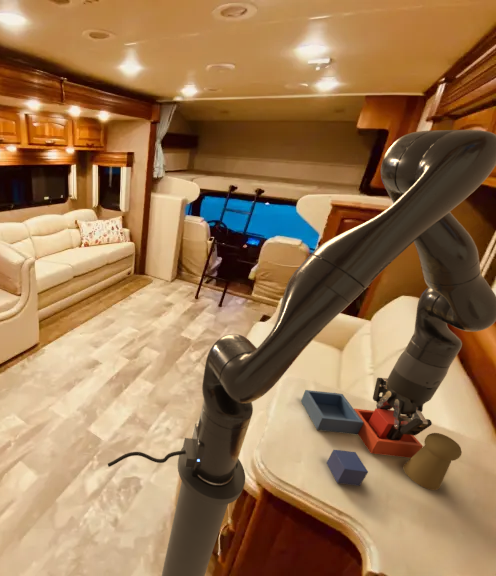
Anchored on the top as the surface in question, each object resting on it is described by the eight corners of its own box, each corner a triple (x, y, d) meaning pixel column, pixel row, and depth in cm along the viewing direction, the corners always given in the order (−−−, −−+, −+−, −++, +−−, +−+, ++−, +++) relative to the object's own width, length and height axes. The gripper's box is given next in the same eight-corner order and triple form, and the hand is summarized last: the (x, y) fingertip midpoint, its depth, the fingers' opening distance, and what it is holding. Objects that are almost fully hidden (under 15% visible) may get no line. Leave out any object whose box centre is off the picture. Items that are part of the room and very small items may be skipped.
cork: (396, 460, 71) (419, 425, 66) (427, 465, 70) (453, 431, 65) (414, 486, 66) (440, 450, 61) (447, 493, 65) (476, 457, 60)
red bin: (370, 453, 72) (377, 440, 71) (347, 420, 81) (353, 408, 79) (414, 458, 72) (423, 446, 70) (387, 424, 80) (394, 412, 78)
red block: (379, 437, 73) (388, 423, 71) (368, 421, 77) (375, 408, 75) (400, 439, 73) (409, 426, 71) (387, 423, 77) (395, 410, 75)
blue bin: (316, 430, 78) (322, 418, 76) (300, 401, 86) (305, 389, 84) (357, 434, 77) (363, 422, 75) (337, 405, 85) (342, 393, 84)
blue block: (336, 483, 66) (344, 469, 64) (326, 463, 70) (333, 449, 68) (359, 486, 65) (368, 472, 63) (347, 465, 69) (355, 451, 67)
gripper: (377, 351, 74) (350, 405, 82) (424, 396, 61) (387, 455, 69) (411, 354, 74) (381, 408, 81) (466, 400, 61) (424, 459, 68)
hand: (384, 429), depth 75 cm, fingers closed on red block, 4 cm apart
